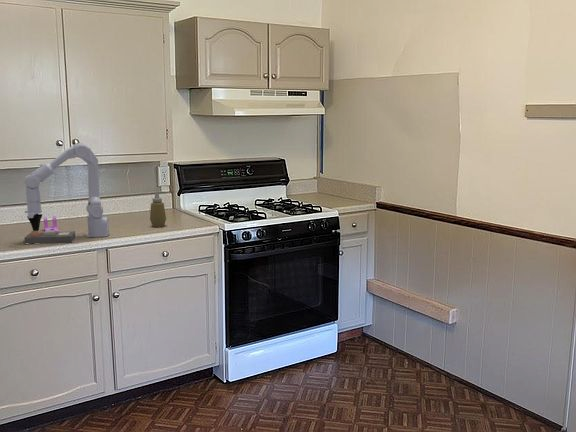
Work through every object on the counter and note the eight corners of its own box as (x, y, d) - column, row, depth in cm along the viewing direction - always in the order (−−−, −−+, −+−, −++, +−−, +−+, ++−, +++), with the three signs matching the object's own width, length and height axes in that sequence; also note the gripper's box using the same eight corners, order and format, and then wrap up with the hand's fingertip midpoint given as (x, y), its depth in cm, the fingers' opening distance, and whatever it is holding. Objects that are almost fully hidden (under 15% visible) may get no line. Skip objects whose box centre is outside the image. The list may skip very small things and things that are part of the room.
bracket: (44, 230, 295) (43, 216, 294) (56, 229, 298) (55, 215, 297) (47, 235, 284) (46, 221, 283) (59, 234, 287) (58, 220, 285)
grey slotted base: (75, 237, 278) (75, 231, 278) (71, 242, 269) (70, 236, 268) (30, 239, 275) (30, 232, 275) (24, 244, 266) (24, 237, 265)
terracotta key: (43, 236, 273) (42, 230, 273) (40, 239, 269) (40, 232, 268) (33, 237, 273) (32, 230, 272) (30, 239, 268) (29, 232, 268)
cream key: (70, 238, 275) (69, 232, 275) (68, 240, 271) (67, 234, 270) (60, 239, 275) (60, 232, 274) (58, 241, 270) (57, 234, 270)
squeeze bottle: (162, 228, 299) (161, 192, 295) (147, 227, 300) (145, 192, 297) (168, 224, 306) (167, 190, 303) (154, 224, 308) (152, 190, 305)
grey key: (56, 236, 274) (56, 230, 274) (54, 238, 270) (54, 232, 269) (46, 236, 273) (46, 230, 273) (44, 238, 269) (43, 232, 269)
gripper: (28, 198, 274) (31, 227, 277) (19, 204, 260) (22, 234, 262) (44, 198, 275) (46, 227, 278) (36, 203, 261) (39, 233, 264)
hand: (36, 230), depth 270 cm, fingers closed
